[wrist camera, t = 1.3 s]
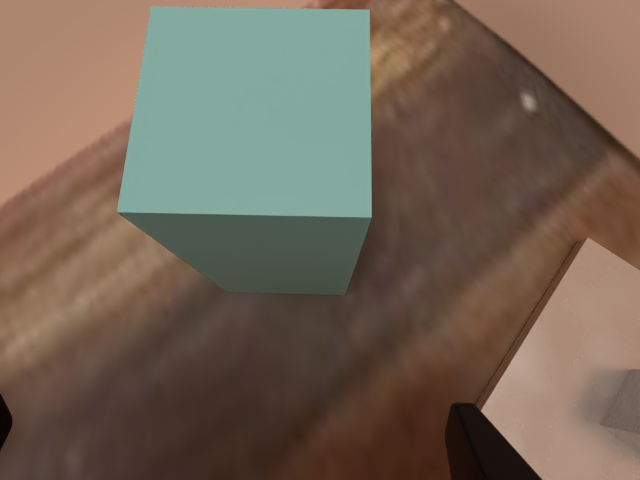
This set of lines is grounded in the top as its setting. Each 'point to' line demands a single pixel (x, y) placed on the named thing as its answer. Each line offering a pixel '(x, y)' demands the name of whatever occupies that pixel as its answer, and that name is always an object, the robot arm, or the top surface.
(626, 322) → the plate
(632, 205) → the top surface
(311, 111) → the tall mint green block
